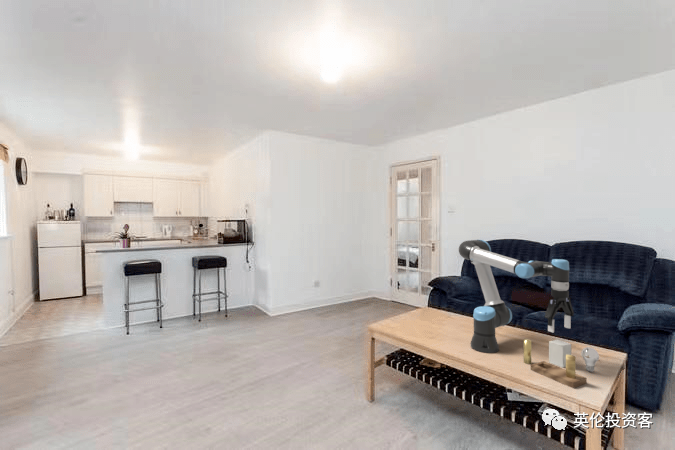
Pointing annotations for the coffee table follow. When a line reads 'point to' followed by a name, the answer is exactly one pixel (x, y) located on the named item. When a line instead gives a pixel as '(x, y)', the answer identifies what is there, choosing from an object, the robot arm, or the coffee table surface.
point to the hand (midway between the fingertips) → (559, 329)
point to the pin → (527, 351)
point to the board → (561, 372)
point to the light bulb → (590, 358)
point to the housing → (559, 352)
